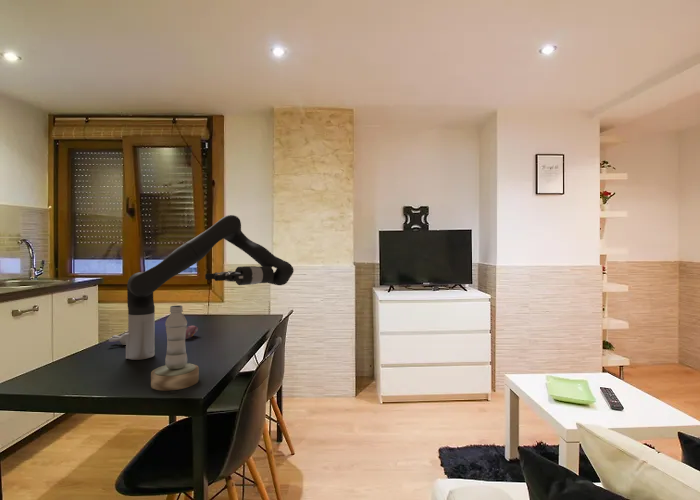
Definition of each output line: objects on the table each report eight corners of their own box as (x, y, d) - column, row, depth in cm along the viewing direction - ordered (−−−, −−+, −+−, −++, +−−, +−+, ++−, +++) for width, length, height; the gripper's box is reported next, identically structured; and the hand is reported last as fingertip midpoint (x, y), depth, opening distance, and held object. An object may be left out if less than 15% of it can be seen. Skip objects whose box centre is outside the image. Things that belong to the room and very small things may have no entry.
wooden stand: (142, 390, 118) (142, 375, 118) (162, 375, 132) (162, 362, 132) (189, 390, 118) (189, 375, 118) (204, 375, 132) (204, 362, 132)
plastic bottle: (173, 373, 121) (173, 308, 121) (160, 369, 124) (160, 306, 124) (191, 367, 126) (191, 305, 126) (178, 364, 130) (179, 304, 130)
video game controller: (183, 343, 182) (189, 330, 181) (175, 338, 183) (181, 325, 182) (195, 338, 192) (201, 326, 191) (187, 334, 192) (193, 321, 192)
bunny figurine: (147, 336, 172) (108, 335, 167) (145, 348, 171) (106, 347, 167) (150, 332, 180) (114, 330, 176) (149, 343, 180) (112, 341, 175)
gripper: (240, 265, 165) (202, 266, 154) (257, 267, 155) (218, 268, 144) (240, 283, 165) (202, 285, 154) (257, 285, 155) (218, 288, 144)
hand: (210, 277), depth 149 cm, fingers open, 8 cm apart
